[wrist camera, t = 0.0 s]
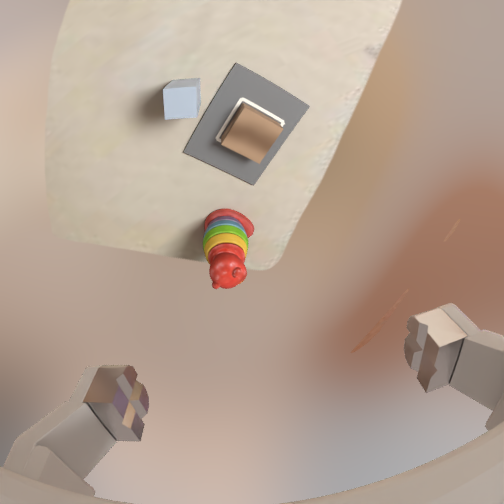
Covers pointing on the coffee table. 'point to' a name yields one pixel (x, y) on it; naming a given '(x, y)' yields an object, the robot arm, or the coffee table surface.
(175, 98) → the pillar
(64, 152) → the coffee table surface
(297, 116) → the build mat
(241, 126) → the base block
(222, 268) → the stacking bear
